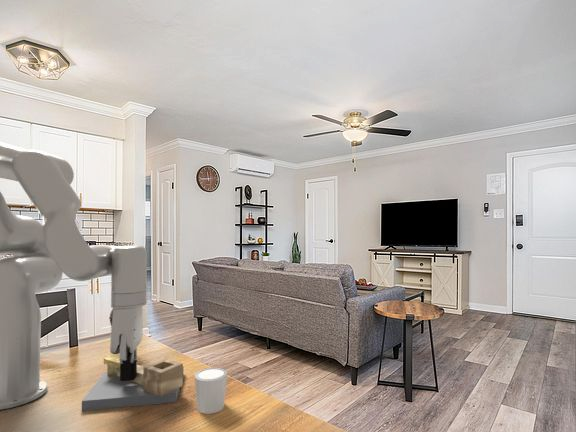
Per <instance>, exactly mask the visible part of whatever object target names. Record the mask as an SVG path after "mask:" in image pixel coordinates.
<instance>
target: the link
mask: <svg viewBox="0 0 576 432" xmlns="http://www.w3.org/2000/svg"><path fill="white" fill-rule="evenodd" d="M183 366H184V363H182V362H179V361H175V360H172V359H169V358H164V359H161V360H158V361H156V362H154V363H153V362H152V363H150V364H148V365H145V366H143V365H141V364H140V365H139V364H137V376H136V378H135V380H130V381H133V382H136V383H138V384H141V385H143V390H145V391H148V392H150V393H153V394H156V395H158V396H163V395H165V394H167V393H169V392H171V391H173V390H175V389H177V388H179V387H180V388H181V387H183V386H184V385H183V384H184V382H183V380H184V367H183ZM117 376H119V377H120V367H119V368H117Z"/></svg>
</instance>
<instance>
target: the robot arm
mask: <svg viewBox="0 0 576 432" xmlns="http://www.w3.org/2000/svg"><path fill="white" fill-rule="evenodd" d="M74 175H75V173H74V170H73V167H72V166H71V164H70V163H69V162H68V161H67V160H65V158H62V157H60V156H57V155H54V154H51V153H47V152H45V151H42V150H36V149H28V150H27V149H25V148H21V147H17V146H14V145H12V144H9V143H8V144H7V143H4V142H2V141H0V179H5V180H10V181H15V182H18V183H19V184H20V186H21V188H22V189H23V191H24V192H25V194H26V195H27V196H28V198H29V199H30V201H31V203H32V204H33V206H34V207H35V209H36V210H37V212H38V213H39V215H40V216H41V219H42V223H40V222H39V221H38V220H37V219H36V218H34V217H31V216H28V215H19V214H17V215H16V214H14V213H13V212H12V210H11V209H10V208H9V206H8V204H7V202H6V199H5V197H4V195H3V193H2V192H1V191H0V256H5V255H12V256H10V257H7V258H3V259H0V410H7V409H11V408H15V407H19V406H22V405H25V404H27V403H30V402H34V401H35V400H36V399H38V398H40V397H43V395H45V393H46V392H47V391H48V383H47V382H46V381H44V380H40V374H41V373H40V372H41V340H42V339H41V337H42V336H41V335H42V334H41V333H42V330H41V329H42V321H41V320H42V316H41V315H42V313H41V307H40V305H39V302H38V300H37V297H36V294H40V293H44V292H46V291H49V290H52V289H54V288H55V287H57V286H58V285H59V283H60V282H61V280H62V278H63V274H64V275H65V276H67V278H69V279H71V280H73V281H76V282H87V281H90V280H95V279H97V278H102V277H107V276H110V277H111V280H110V281H111V283H110V286H111V289H110V290H111V291H110V292H111V293H110V307H111V308H112V309H113V308H114V311H113V317H112V327H111V326H110V327H111V328H110V331H111V332H110V345H109V346H110V347H109V352H110V354H114V353H115V352H116V351H117V350H118V349H119V348H120V357H119V361H120V381H130V380H135V378H136V376H137V365H138V364H137V363H138V361H137V357H138V346H139V345H140V343H142V340H143V334H144V333H143V329H144V327H143V325H144V324H143V322H144V320H143V310H144V309H143V306H144V307H145V306H146V305H147V302H148V301H147V299H148V298H147V297H148V296H147V295H148V291H147V290H148V289H147V288H148V286H147V283H148V281H147V280H148V278H147V277H148V276H147V275H148V274H147V273H148V250H147V248H146V247H145V246H142V245H119V246H116V245H111V244H110V245H107V244H96V245H95V244H93V245H92V244H91V245H90V244H88V242H87V241H86V239H85V238H84V237H83V235H82V234H81V233H82V232H80V230H79V228H78V225H77V223H76V215H77V213H78V212H79V210H80V209H81V208H82V201H81V199H80V198H79V196H78V195H77V193H76V191H75V190H74V189H73V187H72V186H71V184H72V182H73V180H74V177H75V176H74ZM135 359H136V360H135Z"/></svg>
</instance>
